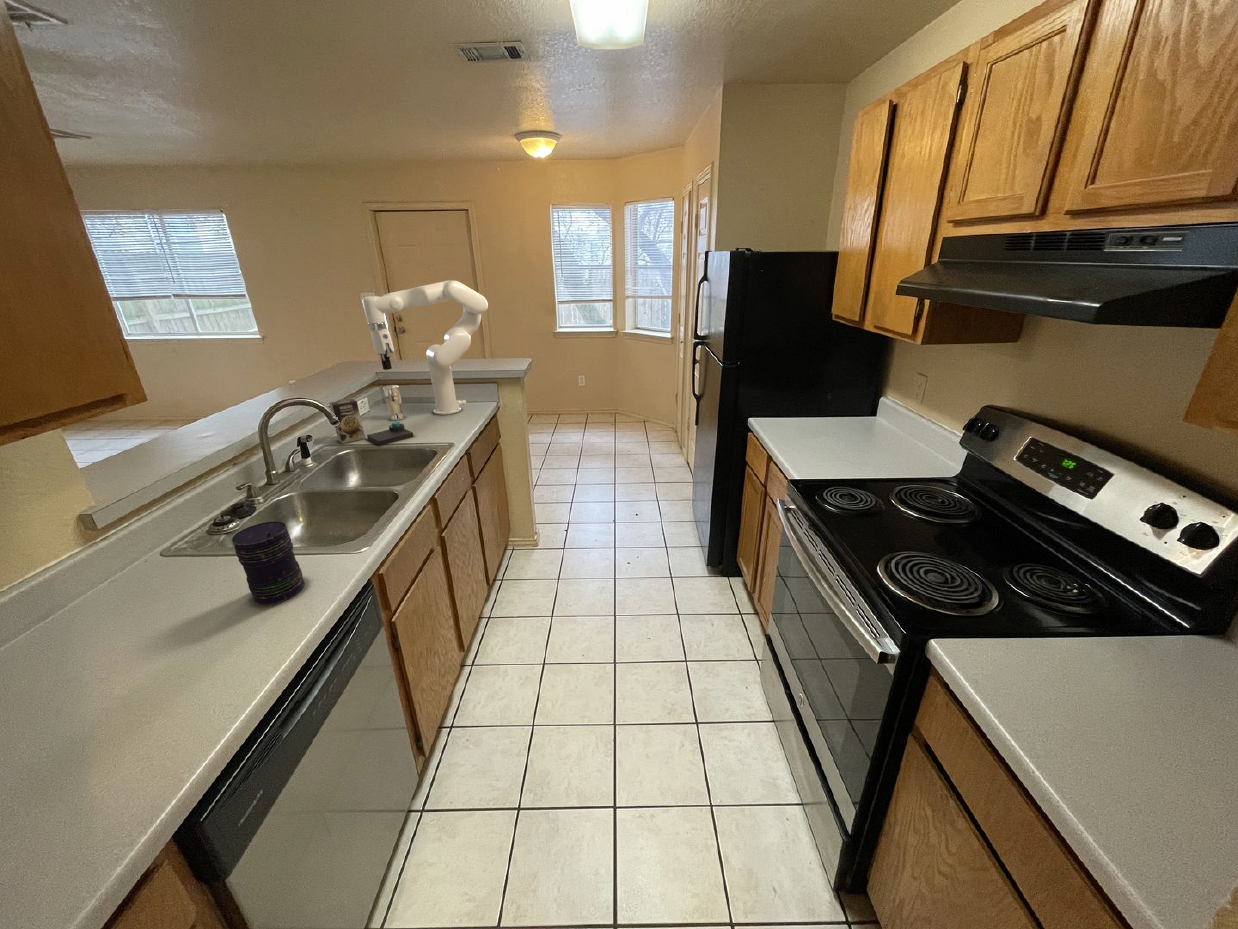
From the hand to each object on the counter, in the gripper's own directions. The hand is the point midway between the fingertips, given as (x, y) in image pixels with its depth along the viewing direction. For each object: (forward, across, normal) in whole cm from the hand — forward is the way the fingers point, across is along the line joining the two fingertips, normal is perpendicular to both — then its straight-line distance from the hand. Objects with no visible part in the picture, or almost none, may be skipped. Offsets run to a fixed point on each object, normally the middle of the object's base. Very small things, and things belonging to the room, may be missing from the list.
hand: (387, 369), depth 223 cm
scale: (+24, -22, +14) cm, 35 cm away
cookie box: (+24, -10, +25) cm, 36 cm away
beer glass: (+24, +4, -1) cm, 24 cm away
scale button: (+21, -18, +9) cm, 29 cm away
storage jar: (+23, -106, +79) cm, 134 cm away
